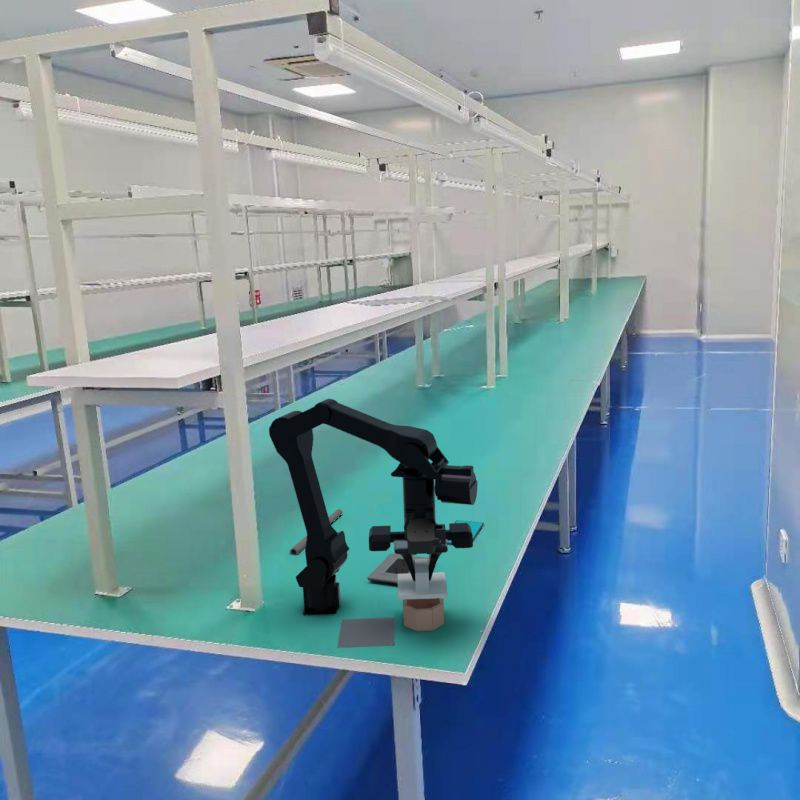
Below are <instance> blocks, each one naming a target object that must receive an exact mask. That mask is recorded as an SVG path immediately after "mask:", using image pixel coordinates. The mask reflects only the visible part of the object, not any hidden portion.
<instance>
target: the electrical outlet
mask: <svg viewBox="0 0 800 800" xmlns="http://www.w3.org/2000/svg"><path fill="white" fill-rule="evenodd" d="M415 559H427V561H428V562H429V556H428V557H425V556H417V555H413V560H414V566H415ZM408 573H410V571H409V569H408V566H407V564H406V562H405V560H404V558H403V557H402V556H401V555H400V554H395V553H393V552H392V553H391V552H390V554H388V556H386V558H385V559H383V561H382V562H380V564H379V565H378V566H377V567H376V568H375V569H374V570H373V571H372V572H371V573H369V575H368V576H367V577H366V579H367V580H368V581H371V582H377V583H385V584H392V585H398V574H408Z"/></svg>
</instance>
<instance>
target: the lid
mask: <svg viewBox="0 0 800 800" xmlns="http://www.w3.org/2000/svg"><path fill="white" fill-rule="evenodd" d="M431 598H443V599H448V598H449V593H448V584H447V578H446V572H444V571H443V572H440V571H439V572H433V574H432V578H431V581H429V571H428V561H427V559H415V581H413V579H412V576H411V574H410V573H408V574H398V584H397V601H399V600H402V601H403V599H431Z"/></svg>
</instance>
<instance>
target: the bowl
mask: <svg viewBox="0 0 800 800" xmlns="http://www.w3.org/2000/svg"><path fill="white" fill-rule="evenodd" d="M402 608H403V610H402V612H403V614H402V615H403V625H404V627H406V628H409V629H411V630H413V631H415V632H421V631H422V632H425V631H434V630H436V629H438V628H439V627H442V626H444V625H445V604H444V598H431V599H402Z"/></svg>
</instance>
